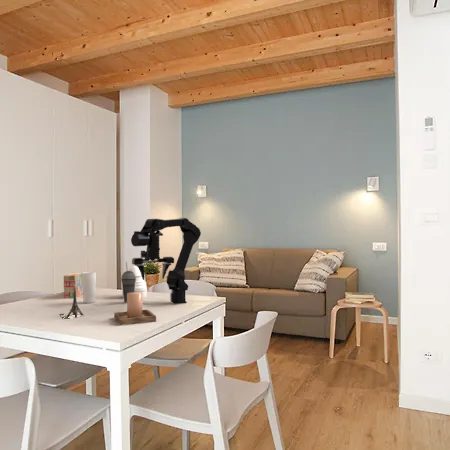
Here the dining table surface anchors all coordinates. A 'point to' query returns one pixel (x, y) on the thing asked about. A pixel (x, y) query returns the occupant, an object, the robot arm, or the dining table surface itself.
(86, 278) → the white tall cylinder
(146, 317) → the tray
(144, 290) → the honey pot
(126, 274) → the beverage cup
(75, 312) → the eiffel tower figurine
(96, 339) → the dining table surface
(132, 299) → the pinkish-brown upright cylinder
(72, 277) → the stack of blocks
